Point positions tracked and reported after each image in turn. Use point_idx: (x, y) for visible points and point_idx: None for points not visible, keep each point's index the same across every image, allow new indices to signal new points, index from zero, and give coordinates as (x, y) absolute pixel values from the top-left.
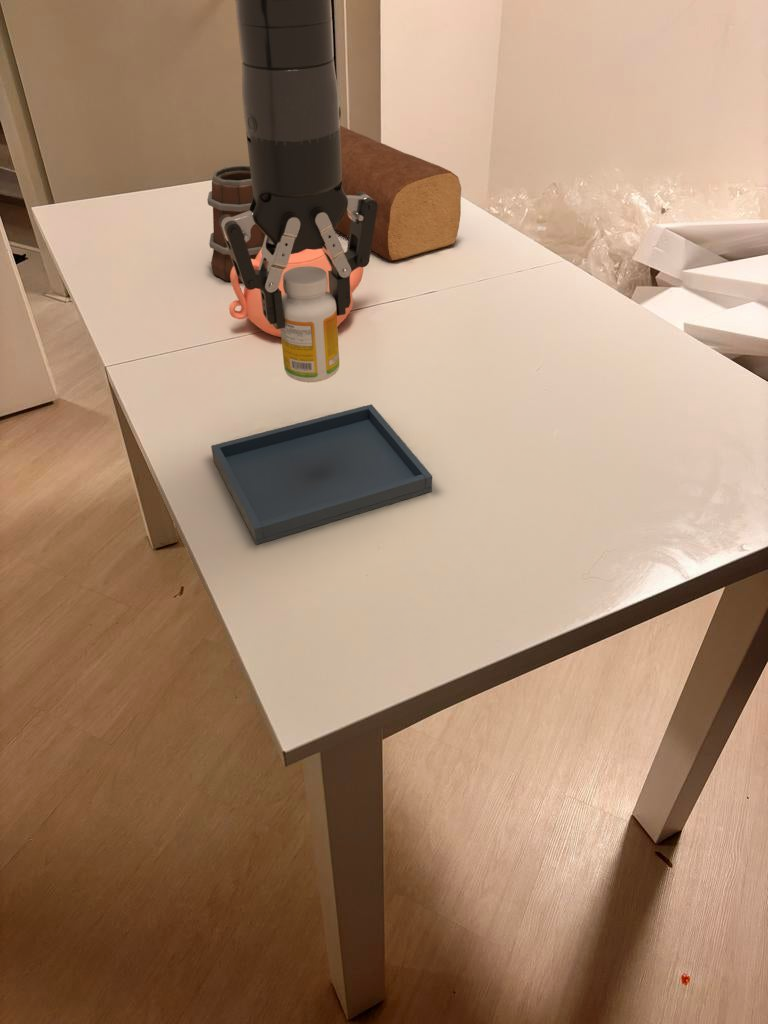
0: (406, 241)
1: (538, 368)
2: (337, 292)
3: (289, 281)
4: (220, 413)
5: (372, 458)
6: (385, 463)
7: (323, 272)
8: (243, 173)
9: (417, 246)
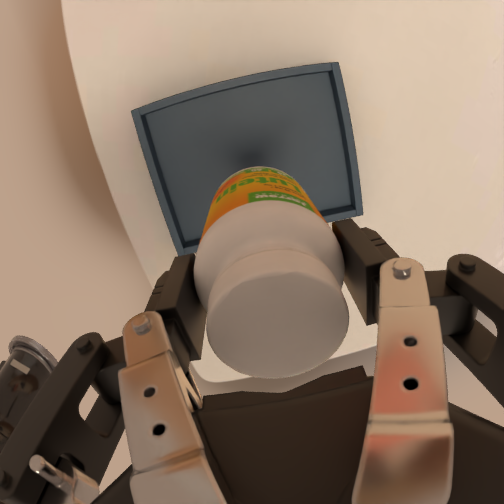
0: None
1: (495, 60)
2: (355, 299)
3: (225, 361)
4: (150, 21)
5: (315, 147)
6: (326, 160)
7: (340, 326)
8: None
9: None
